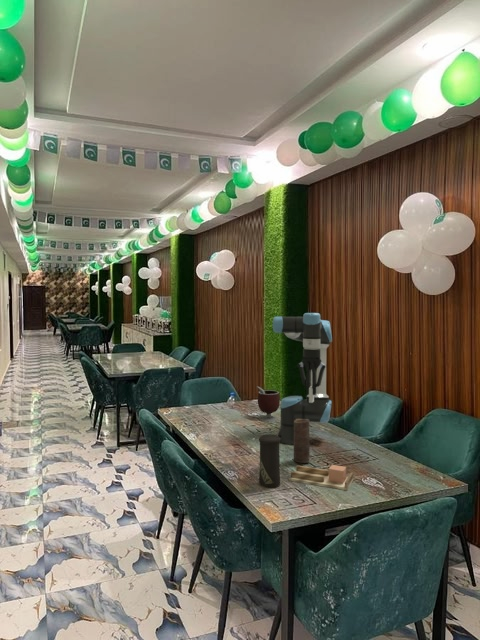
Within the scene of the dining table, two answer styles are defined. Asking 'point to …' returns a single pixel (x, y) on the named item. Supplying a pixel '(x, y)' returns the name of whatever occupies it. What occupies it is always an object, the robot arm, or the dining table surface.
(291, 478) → the chute
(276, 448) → the container
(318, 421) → the robot arm
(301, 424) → the candle
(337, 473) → the block
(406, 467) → the dining table surface
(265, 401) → the mate gourd
